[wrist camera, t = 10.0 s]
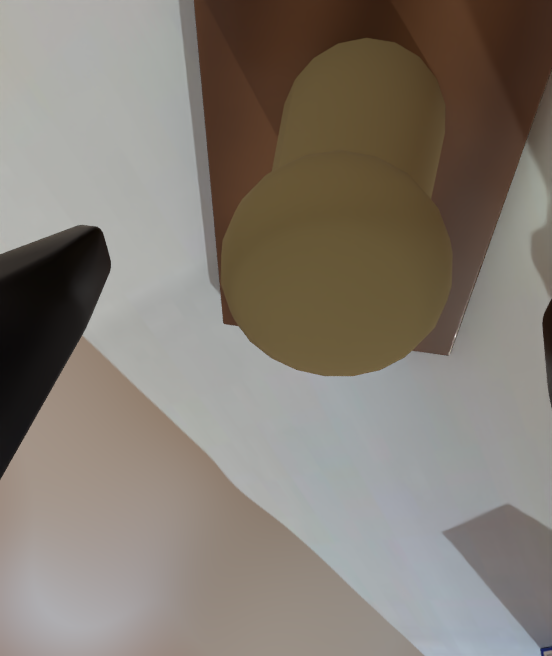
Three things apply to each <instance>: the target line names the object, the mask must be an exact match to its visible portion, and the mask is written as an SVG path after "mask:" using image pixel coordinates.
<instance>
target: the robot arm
mask: <svg viewBox="0 0 552 656" xmlns="http://www.w3.org/2000/svg"><path fill="white" fill-rule="evenodd" d="M110 269H111V260H110V256H109V253H108V249H107V246H106V242H105V238H104V235H103V232H102V231H101V229H100V228H98V227H95V226H87V225H78V226H75V227H73V228H70V229H67V230H65V231H62V232H59V233H56V234H54V235H51V236H48V237H46V238H43V239H40V240H38V241H35V242H32V243H30V244H27V245H24V246H21V247H19V248H16V249H13V250H11V251H8V252H5V253H3V254H0V479H1V477H2V476H3V474H4V472H5V470H6V469H7V467H8V465H9V463H10V461H11V460H12V458H13V456H14V454H15V453H16V451H17V449H18V447H19V446H20V444H21V442H22V440H23V439H24V436H25V435H26V433H27V432H28V430H29V428H30V426H31V425H32V423H33V421H34V419H35V417H36V416H37V414H38V412H39V410H40V409H41V407H42V405H43V403H44V402H45V400H46V398H47V396H48V394H49V393H50V391H51V389H52V387H53V386H54V384H55V382H56V380H57V378H58V377H59V375H60V373H61V371H62V370H63V368H64V366H65V364H66V363H67V361H68V359H69V357H70V355H71V354H72V352H73V350H74V349H75V347H76V345H77V343H78V342H79V340H80V338H81V336H82V334H83V332H84V331H85V329H86V327H87V324H88V322H89V320H90V318H91V316H92V313H93V311H94V308H95V306H96V304H97V301H98V299H99V296H100V294H101V292H102V289H103V287H104V285H105V282H106V280H107V277H108V275H109V273H110ZM542 325H543V337H544V349H545V361H546V372H547V383H548V391H549V397H550V402H551V407H552V299H551V301H550V303H549V305H548V307H547V309H546V311H545V313H544V316H543V323H542Z"/></svg>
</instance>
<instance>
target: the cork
mask: <svg viewBox="0 0 552 656" xmlns="http://www.w3.org/2000/svg"><path fill="white" fill-rule="evenodd" d="M444 135H445V102H444V99H443V96H442V93H441V90H440V87H439V84H438V81H437V78H436V77H435V76H434V75H433V73H432V72H431V71H430V69H429V68H428V67H427V66H426V64H425V63H424V62H423V61H422V59H421V58H420V57H419V56H417V55H416V54H414V53H412V52H410V51H409V50H407V49H405V48H404V47H402V46H400V45H399V44H397V43H395V42H389V41H383V40H377V39H371V38H363V39H358V40H353V41H348V42H343V43H338V44H336V45H335V46H333V47H331V48H330V49H328V50H326V51H325V52H323V53H321V54H320V55H318V56H316V57H314V58H313V59H312V60H311V62H310V63H309V64H308V65H307V66H306V67H305V68H304V70H303V71H302V72H301V73H300V74H299V75H298V76H297V78H296V79H295V81H294V83H293V85H292V87H291V90H290V92H289V94H288V97H287V99H286V101H285V104H284V108H283V114H282V119H281V124H280V130H279V135H278V140H277V146H276V151H275V156H274V162H273V167H272V172H270V173H268V174H267V175H265V176H264V177H263V178H262V179H261V180H260V181H259V182H258V183H257V185H256V186H255V187H254V188H253V189H252V190H251V191H250V192H249V193H248V194H247V195H246V196H245V197H244V198H243V199H242V200H241V202H240V204H239V205H238V207H237V209H236V210H235V212H234V215H233V217H232V219H231V222H230V224H229V226H228V229H227V231H226V233H225V236H224V238H223V242H222V253H221V286H222V289H223V292H224V295H225V298H226V301H227V303H228V306H229V309H230V312H231V314H232V316H233V318H234V320H235V322H236V323H237V324H238V326H239V327H240V328H241V330H242V331H243V332H244V334H245V335H246V336H247V338H248V339H249V340H250V342H252V343H253V344H254V345H255V346H257V347H258V348H259V349H260V350H262V351H263V352H264V353H266V354H267V355H268V356H269V357H271V358H272V359H274V360H277V361H279V362H281V363H283V364H285V365H287V366H290V367H292V368H294V369H296V370H300V371H304V372H309V373H313V374H318V375H322V376H356V375H360V374H364V373H369V372H373V371H378V370H381V369H383V368H385V367H387V366H389V365H391V364H393V363H394V362H396V361H398V360H400V359H402V358H404V357H405V356H407V355H408V354H409V353H410V352H411V351H412V350H413V349H414V348H415V347H416V346H417V345H418V344H419V343H420V342H421V341H422V340H423V339H424V338H425V337H426V336H427V335H428V334H429V333H430V332H431V331H432V330H433V329H434V328H435V326H436V324H437V322H438V320H439V317H440V315H441V313H442V311H443V309H444V306H445V304H446V302H447V299H448V296H449V293H450V290H451V287H452V259H453V253H452V247H451V241H450V238H449V235H448V232H447V230H446V227H445V225H444V222H443V219H442V217H441V214H440V211H439V209H438V207H437V206H436V205H435V203H434V202H433V201H432V200H431V197H432V192H433V187H434V182H435V178H436V173H437V168H438V163H439V159H440V154H441V149H442V144H443V140H444Z"/></svg>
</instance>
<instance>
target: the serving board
mask: <svg viewBox="0 0 552 656" xmlns="http://www.w3.org/2000/svg"><path fill="white" fill-rule="evenodd" d="M194 8H195V19H196V30H197V41H198V52H199V62H200V73H201V84H202V95H203V106H204V117H205V128H206V139H207V150H208V161H209V172H210V183H211V194H212V205H213V216H214V227H215V237H216V248H217V259H218V270H219V281H220V292H221V303H222V314H223V323H224V324H228V325H235V326H238V324H237V323H236V322H235V320H234V318H233V316H232V314H231V312H230V309H229V306H228V303H227V301H226V298H225V295H224V292H223V289H222V286H221V253H222V242H223V238H224V236H225V233H226V231H227V229H228V226H229V224H230V222H231V219H232V217H233V215H234V212H235V210H236V209H237V207H238V205H239V204H240V202H241V200H242V199H243V198H244V197H245V196H246V195H247V194H248V193H249V192H250V191H251V190H252V189H253V188H254V187H255V186H256V185H257V183H258V182H259V181H260V180H261V179H262V178H263V177H264V176H265V175H267V174H268V173H270V172H272V167H273V162H274V156H275V151H276V146H277V140H278V135H279V130H280V124H281V119H282V114H283V108H284V104H285V101H286V99H287V97H288V94H289V92H290V90H291V87H292V85H293V83H294V81H295V79H296V78H297V76H298V75H299V74H300V73H301V72H302V71H303V70H304V68H305V67H306V66H307V65H308V64H309V63H310V62H311V60H312V59H313V58H314V57H316V56H318V55H320V54H321V53H323V52H325V51H326V50H328V49H330V48H331V47H333V46H335V45H336V44H338V43H343V42H348V41H353V40H358V39H363V38H371V39H377V40H383V41H389V42H395V43H397V44H399V45H400V46H402V47H404V48H405V49H407V50H409V51H410V52H412V53H414V54H416V55H417V56H419V57H420V58H421V59H422V61H423V62H424V63H425V64H426V66H427V67H428V68H429V69H430V71H431V72H432V73H433V75H434V76H435V77H436V78H437V81H438V84H439V87H440V90H441V93H442V96H443V99H444V102H445V135H444V140H443V144H442V149H441V154H440V159H439V163H438V168H437V173H436V178H435V182H434V187H433V192H432V197H431V200H432V201H433V202H434V203H435V205H436V206H437V207H438V209H439V211H440V214H441V217H442V219H443V222H444V225H445V227H446V230H447V232H448V235H449V238H450V241H451V247H452V253H453V259H452V287H451V290H450V293H449V296H448V299H447V302H446V304H445V306H444V309H443V311H442V313H441V315H440V317H439V320H438V322H437V324H436V326H435V328H434V329H433V330H432V331H431V332H430V333H429V334H428V335H427V336H426V337H425V338H424V339H423V340H422V341H421V342H420V343H419V344H418V345H417V346H416V347H415V348H414V349H413V350H412V351H419V352H426V353H433V354H440V355H447V356H448V355H450V353H451V350H452V347H453V345H454V342H455V339H456V336H457V333H458V331H459V328H460V325H461V322H462V319H463V317H464V314H465V311H466V308H467V305H468V303H469V300H470V297H471V294H472V291H473V289H474V286H475V283H476V280H477V277H478V275H479V272H480V269H481V266H482V263H483V261H484V258H485V255H486V252H487V249H488V247H489V244H490V241H491V238H492V235H493V233H494V230H495V227H496V224H497V221H498V219H499V216H500V213H501V210H502V207H503V205H504V202H505V199H506V196H507V193H508V191H509V188H510V185H511V182H512V179H513V177H514V174H515V171H516V168H517V165H518V163H519V160H520V157H521V154H522V151H523V149H524V146H525V143H526V140H527V137H528V135H529V132H530V129H531V126H532V123H533V121H534V118H535V115H536V112H537V109H538V107H539V104H540V101H541V98H542V95H543V93H544V90H545V87H546V84H547V81H548V79H549V76H550V73H551V70H552V0H194Z"/></svg>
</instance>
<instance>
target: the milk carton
mask: <svg viewBox="0 0 552 656" xmlns="http://www.w3.org/2000/svg"><path fill="white" fill-rule="evenodd" d="M540 650H541V656H552V647H548V648H542V649H540Z"/></svg>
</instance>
